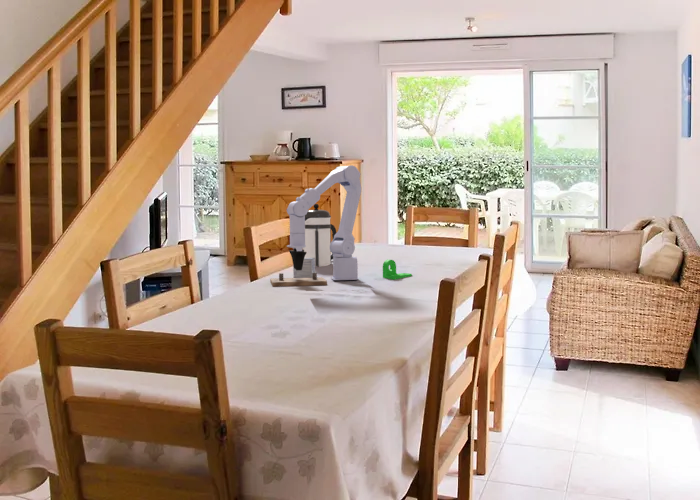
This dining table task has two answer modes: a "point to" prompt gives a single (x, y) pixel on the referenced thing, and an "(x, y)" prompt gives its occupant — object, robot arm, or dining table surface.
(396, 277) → the mechanical part
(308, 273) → the medicine box
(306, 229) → the coffee press
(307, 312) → the dining table surface
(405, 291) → the dining table surface
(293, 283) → the walnut board
